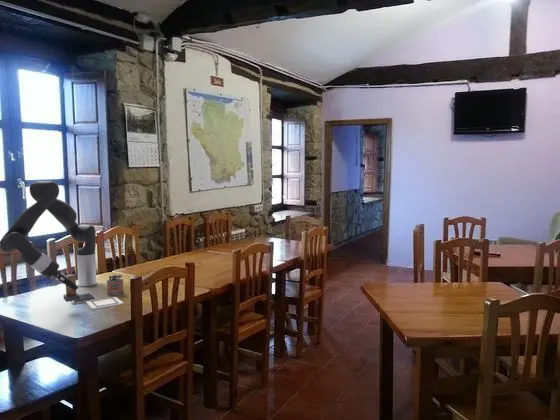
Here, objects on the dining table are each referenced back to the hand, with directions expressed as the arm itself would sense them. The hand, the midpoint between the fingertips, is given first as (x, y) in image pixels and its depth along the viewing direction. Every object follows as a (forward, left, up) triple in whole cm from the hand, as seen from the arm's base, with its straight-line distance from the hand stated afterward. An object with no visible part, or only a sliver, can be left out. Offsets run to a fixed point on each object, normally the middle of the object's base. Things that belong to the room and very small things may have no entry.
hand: (75, 287), depth 208 cm
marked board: (-2, +13, -10) cm, 17 cm away
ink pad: (-15, +6, -10) cm, 19 cm away
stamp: (0, -2, -5) cm, 5 cm away
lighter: (-15, +22, -11) cm, 29 cm away
